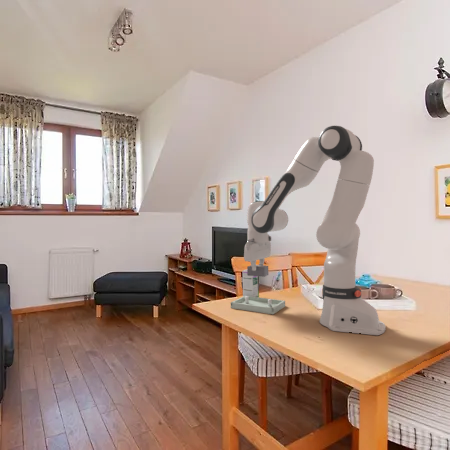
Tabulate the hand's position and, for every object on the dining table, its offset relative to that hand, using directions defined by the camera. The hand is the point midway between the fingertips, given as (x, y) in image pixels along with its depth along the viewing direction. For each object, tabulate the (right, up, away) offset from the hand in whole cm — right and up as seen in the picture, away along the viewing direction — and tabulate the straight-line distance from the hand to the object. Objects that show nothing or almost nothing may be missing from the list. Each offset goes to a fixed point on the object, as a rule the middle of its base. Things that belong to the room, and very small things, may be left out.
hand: (257, 269), depth 145 cm
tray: (0, -17, 0) cm, 17 cm away
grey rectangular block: (0, -3, 0) cm, 3 cm away
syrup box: (-2, -17, +15) cm, 22 cm away
